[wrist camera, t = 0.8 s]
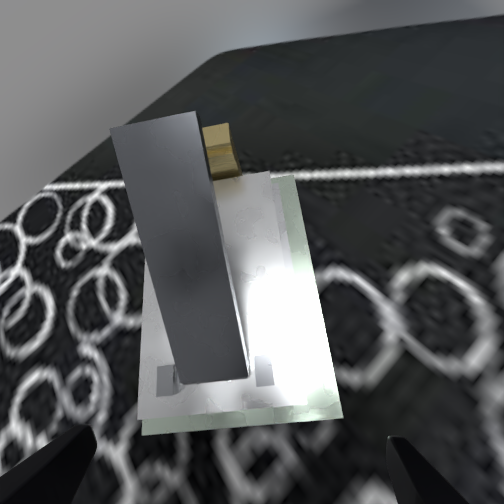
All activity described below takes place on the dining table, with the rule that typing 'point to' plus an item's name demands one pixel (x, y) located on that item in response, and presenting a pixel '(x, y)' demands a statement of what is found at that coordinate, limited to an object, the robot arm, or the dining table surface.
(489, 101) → the dining table surface
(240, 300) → the board
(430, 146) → the dining table surface
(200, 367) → the dark grey flat bar
